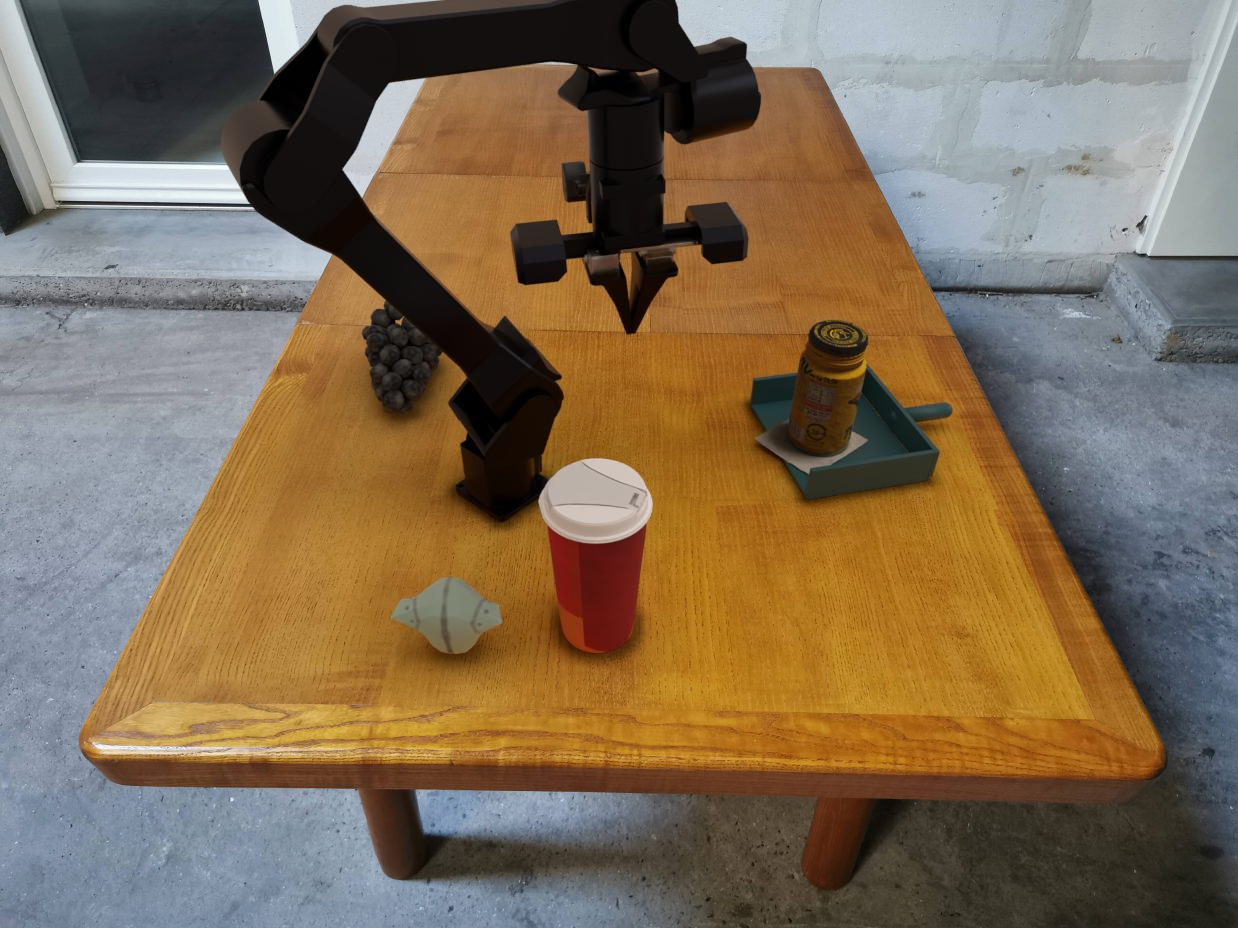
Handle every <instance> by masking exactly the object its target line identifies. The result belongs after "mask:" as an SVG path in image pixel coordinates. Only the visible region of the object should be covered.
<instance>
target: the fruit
mask: <svg viewBox="0 0 1238 928" xmlns="http://www.w3.org/2000/svg"><path fill="white" fill-rule="evenodd" d="M369 317H370V321H371V322H370V325H366V326H364V327H363V329H362V330H361V337H362V339H363V340H364V341H365V344H366V347H365V348H364V356H365V357H366V358H367V362H368V364H369V366H370V370H369V376H370V379H371V389H372V390H373V391H374V395H375V397H376V399H377V400H378V401H379V402H382V406H383V407H384V409H385V410H386V411H388V412H391V413H395V412H397V414H406V413H408V412H410V411H411V410H412V409H413V406H414V405H413V401H415V400H417V399H420V398H421V396H422V394H423V393H424V392H425V389H426V387H425V385H427V384H428V383H429V382H430V380H431V377H432V376H433V372H435V371H436V370H437V368H438V365H439V363H440V356H442V354H444V353H443V352H442V351H441V350H440V349H439V348H438V347H437V346H436V345H434V344H433V343H432V342H431V341H430V340H429V339H428V338H427V337H426V336H425V335H423V334H422V333H421V332H420V331H419V330H418V329H417V328H416V327H415V326H414V325H412V324H411V323H410V322H409V321H408V320H407V319H406V318H405V317H404V316H403V315H401V314H400V313H399V312H398V311H397V310H396V309H395V308H394V307H393V306H391V305H390V304H389V303H388V302H387V301H386V300H385V299H384V303H383V308H376V309H374V310H373V311H372V313H371V314H370V316H369ZM400 320H401V323H398V322H397V321H400Z"/></svg>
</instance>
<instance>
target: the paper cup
mask: <svg viewBox="0 0 1238 928" xmlns="http://www.w3.org/2000/svg"><path fill="white" fill-rule="evenodd" d="M653 503H654V502H653V497H652V495H651V492H650V490H649V489H648V487H647V485H646V482H645V480H644V479H643V477H642V476H641V475H640V473H639V472H637V470H635V469H634V468H633V467H631V466H629V465H627V464H626V463H623V462H621V461H617V460H614V459H608V458H600V457H599V458H597V457H596V458H595V457H594V458H585V459H580V460H577V461H575V462H572V463H569V464H567V465H566V466H563V467H562V468H561V469H559V470H557V472H555V474H554V475H553V476H551V477H550V478H549V481H548V482H547V484H546V486H545V488H544V489H543V491H542V493H541V495H540V497H539V498H538V505H539V509H540V514H541V517H542V518H543V521H544V523H546V528H547V536H548V541H549V548H550V557H551V564H552V570H553V572H552V573H553V580H554V585H555V593H556V599H557V600H556V601H557V606H558V613H559V619H560V624H561V625H560V626H561V629H562V633H563V635H564V638H565V639H566V641H568V643H569V644H571V645H572V646H573V647H574V648H576V649H578V650H580V651H582V652H586V653H592V654H604V653H609V652H612V651H615V650H617V649H619V648H621V647H623V645H624V644H625V643H626V642H627V641H629V639H630V637H631V635H632V633H633V629H634V625H635V619H636V613H637V607H638V606H637V605H638V598H639V588H640V580H641V571H642V565H643V557H644V551H645V545H646V535H647V525H648V522H649V520H650V518H651V515H652V512H653V505H654V504H653Z"/></svg>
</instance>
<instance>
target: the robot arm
mask: <svg viewBox="0 0 1238 928" xmlns="http://www.w3.org/2000/svg"><path fill="white" fill-rule="evenodd" d="M679 16H680V15H679V6H678V3H677V1H676V0H427V1H418V2H407V3H406V2H405V3H396V4H385V5H378V6H377V5H375V6H365V7H363V6H358V5H353V4H342V5H340V6H336V7H333V8H331V9H330V10H329V11H328V12H326V13H325V14H324V15H323V17H322V18H321V20H320V22H319V23H318V25H317V26H316V28H315V29H314V31H313V32H312V34H311V35H310V37H309V38H308V40H307V41H306V42H305V43H304V44H303V45H302V46H301V47H300V48H299V49H298V50H297V51H296V52H295V53H294V54H293V55H292V56H291V57H290V58H289V59H288V60H286V61H285V63H283V64H282V66H281V67H279V68H278V70H277V71H275V72H274V74H273V75H272V76H271V77H270V79H269V80H268V82H267V84H266V85H265V86H264V88H263V89H262V90H261V92H260V94H259V95H258V96H257V98H256V100H255V101H252V102H248V103H245V104H244V105H242V106H240V107H239V108H237V109H236V110H235V111H233V112H232V113H231V114H230V116H228V117H229V118H227V120H226V122H224V125H223V128H222V133H221V136H220V144H221V155H222V157H223V159H224V162H225V164H226V165H227V168H228V169H229V171H230V173H231V174H232V176H233V178H234V179H235V181H236V183H237V185H238V187H239V189H240V190H241V192H242V194H243V195H244V198H245V199H246V201H247V202H248V204H249V205H250V206H251V207H252V209H253V210H254V211H255V212H256V213H258V214H259V215H260V216H261V217H263V218H265V219H266V220H268V221H269V222H271V223H273V224H274V225H276V226H277V227H279V228H281V229H282V230H284V231H285V232H287V233H289V234H290V235H292V236H293V237H295V238H297V239H299V240H300V241H302V242H303V243H305V244H307V245H309V246H312V247H314V248H316V249H318V250H321V251H323V252H326V253H328V254H330V255H332V256H334V257H336V258H338V259H339V260H341V261H342V263H344V264H345V265H346V266H347V267H349V269H351V271H353V272H354V273H355V274H356V275H357V276H358V277H359V278H361V280H362V281H364V282H365V284H367V285H368V286H369V287H370V288H371V289H372V290H373V291H375V292H376V293H377V294H378V295H379V296H381V298H382V299H384V301H385V300H386V301H387V302H388V303H389V304H390V305H391V306H393V307H394V308H395V309H396V310H397V311H398V312H399V313H400V314H401V315H403V317H405V318H406V319H407V320H408V321H409V322H410V323H411V324H412V325H414V326H415V327H416V328H417V329H418V330H419V331H420V332H421V333H422V334H423V335H425V336H426V337H427V338H428V339H429V340H430V341H431V342H432V343H433V344H434V345H436V346H437V347H438V348H439V349H440V350H441V351H442V352H443V353H442V354H444V355H445V356H446V357H447V358H449V359H450V360H451V361H452V362H453V363H454V364H455V365H456V366H457V367H459V369H460V370H461V371H462V373H463V374H464V375H465V377H466V378H465V380H464V381H463V382H462V383H461V385H460V386H459V387H458V388H457V390H456V391H455V392H454V393H453V395H452V396H451V397H450V399H449V400H448V403H447V404H448V406H449V408H450V409H451V412H452V413H453V414H454V416H455V417H456V419H457V420H458V421H459V422H460V423H461V425H462V426H463V428H464V429H465V431H466V435H465V440H463V441H461V442H459V443H460V444H459V447H460V455H461V462H462V468H463V469H462V470H463V477H464V479H463V480H461V481H459V482H457V483H456V484H455V486H454V487H455V492H456V493H458V494H459V495H460V496H462V497H463V498H465V499H466V500H468V501H469V502H470V503H472V504H474V505H475V506H477V507H478V508H479V509H481V510H482V511H484V512H485V513H487V514H488V515H490V516H491V517H493V518H494V519H496V520H497V521H499V522H504V521H507V520H509V519H510V518H511V517H513V516H514V515H516V514H517V513H519V512H520V511H522V510H524V508H526V507H527V506H529V505H530V504H531V503H533V502H534V501H536V500H538V499H539V498H540V495H541V493H542V491H543V489H544V488H545V486H546V484H547V482H548V481H549V480H550V478H547V477H546V476H544V475H542V474H541V473H542V472H543V459H542V455H544V453H545V452H546V451H545V450H546V447H547V444H548V441H549V438H550V434H551V433H552V429H553V426H554V422H555V420H556V418H557V416H558V415H559V413H560V411H561V409H562V404H563V401H564V400H565V394H564V390H563V389H562V388H561V386H560V385H559V383H558V382H557V381H560V380H562V379H563V375H562V374H561V373H560V372H559V371H558V369H556V368H555V366H553V364H552V363H551V362H550V361H549V360H548V359H547V357H545V355H544V354H543V353H542V352H541V351H540V350H539V349H538V348H537V346H536V345H535V344H534V343H533V342H532V341H531V340H530V339H529V338H527V337H525V336H524V335H523V333H521V331H520V330H519V329H518V328H517V327H516V325H514V324H513V322H512V321H511V320H510V318H508V317H507V316H506V315H504V316H502V318H501V319H500V321H498V323H497V324H496V325H495V326H492V325H490V324H488V323H486V322H484V321H482V320H481V319H479V318H478V317H477V316H476V315H475V314H474V313H473V312H472V310H470V309H469V308H468V307H467V306H466V305H465V304H464V303H463V302H462V300H460V299H459V298H458V297H457V296H456V295H455V294H454V293H453V292H452V290H450V289H449V288H448V287H447V286H446V285H445V284H444V283H443V282H442V281H441V280H440V279H439V278H438V277H437V276H436V275H435V274H434V273H433V271H431V270H430V269H429V268H428V267H427V266H426V265H425V264H424V263H423V262H422V261H421V260H420V259H419V258H418V257H417V256H416V255H415V254H414V253H413V252H412V251H411V250H410V249H409V248H408V247H407V246H406V245H405V244H404V243H403V242H402V241H401V240H400V239H399V238H398V237H397V236H396V235H395V234H394V233H393V232H392V231H391V230H390V229H389V228H388V227H387V226H386V225H385V224H384V223H383V222H382V220H380V219H379V218H378V217H377V216H376V215H375V214H374V213H373V212H372V211H371V210H370V207H369V206H368V205H367V203H366V202H365V200H364V199H363V197H362V196H361V194H360V192H359V191H358V190H357V188H356V186H355V185H354V184H353V182H352V181H351V180H350V178H349V177H348V175H347V174H346V172H345V170H344V168H345V166H347V164H348V162H349V161H350V160H351V158H352V157H353V155H354V154H355V152H356V151H357V149H358V147H359V144H360V142H361V140H362V137H363V135H364V132H365V131H366V128H367V126H368V123H369V120H370V118H371V115H372V113H373V110H374V108H375V105H376V103H377V101H378V99H379V98H380V96H381V95H382V94H383V92H384V91H385V90H386V88H387V87H388V85H389V84H391V83H398V82H406V81H414V80H422V79H430V78H437V77H446V76H453V75H459V74H460V75H461V74H469V73H477V72H484V71H492V70H498V69H507V68H514V67H515V68H516V67H522V66H529V65H536V64H537V65H538V64H546V63H557V64H558V63H560V64H567V65H568V64H569V65H574V66H576V68H575V70H574V72H573V73H572V74H571V76H569V78H568V79H566V80H565V81H564V82H563V84H562V85H561V86H560V87H559V88H558V90H557V96H558V97H559V99H560V100H563V101H564V102H566V103H567V104H569V105H570V106H572V107H574V108H575V109H576V110H578V111H580V112H585V111H586V121H587V122H586V123H587V140H588V142H587V144H588V164H589V171H587V168H586V163H585V162H584V161H582V160H581V161H579V160H577V161H570V162H569V161H567V162H561V163H560V164H561V167H560V168H561V183H562V193H563V199H564V201H565V202H566V203H579V202H580V203H581V202H585V214H586V215H585V216H586V220H587V223H588V224H591V226H592V231H586V232H578V233H568V234H567V233H565V234H562V231H561V228H560V225H559V221H558V219H547V220H537V221H536V220H535V221H528V222H517V223H515V224H514V226H513V227H512V229H511V230H510V232H509V236H510V244H511V254H512V259H513V264H514V270H515V274H516V281H517V283H518V284H521V285H524V286H532V285H533V286H534V285H541V284H550V283H551V284H552V283H559V282H560V281H561V279H563V277H564V276H565V275H566V274H567V273H568V262H567V260H574V259H581V261H582V264H583V267H584V270H585V274H586V276H587V279H588V282H589V284H590V285H591V286H594V287H600V286H601V287H603V288H604V290H605V291H606V293H607V295H608V297H609V298H610V300H611V301H612V303H613V304H614V306H615V309H616V311H617V314H618V316H619V319H620V322H621V324H622V327H623V329H624V332H625V335H626V336H627V335H629V336H630V335H636V334H637V332H638V330H639V328H640V325H641V324H642V321H643V319H644V318H645V316H646V313H647V312H648V310H649V307H650V306H651V304H652V302H653V301H654V299H655V298H656V296H657V294H658V293H659V291H660V290H661V289H662V287H663V286H664V284H665V283H666V281H667V280H668V279H672V278H676V277H677V276H678V275H679V266H678V265H677V263H676V261H675V254H676V253H677V248H684V247H694V246H701V247H700V254H701V257H702V258H703V259H705V260H706V261H707V262H708V263H709V264H711V265H718V264H719V265H720V264H729V263H736V262H737V263H739V262H743V261H744V260H746V259H747V258H748V253H749V240H750V239H749V232H748V228H747V226H746V225H745V224H744V222H743V221H742V219H741V218H740V216H739V215H738V212H736V210H735V209H734V207H733V206H732V205H730V203H728V202H727V201H719V202H710V203H700V204H692V205H687V206H686V208H685V210H684V221H679V222H671V223H666V222H665V221H664V220H665V219H664V217H665V216H664V213H665V212H664V211H665V209H664V208H665V200H664V198H665V194H666V189H667V187H666V186H667V185H666V181H667V180H666V179H665V133H666V134H669V135H670V136H671V138H672V139H673V140H674V141H675V142H676V143H678V144H680V145H689V144H694V143H699V142H702V141H707V140H710V139H714V138H718V137H723V136H727V135H732V134H735V133H739V132H743V131H747V130H749V129H751V128H752V127H753V126H754V125H755V123H756V122H757V120H758V117H759V115H760V112H761V105H762V93H761V92H760V91H759V84H758V81H757V76H756V73H755V70H754V68H753V66H752V65H751V63H750V62H749V60H748V59H747V53H748V44H747V43H746V42H745V41H743V40H741V39H738V38H736V37H733V36H726V37H720V38H718V39H715V40H714V41H712V42H710V43H706V44H701V45H694V44H693V43H692V41H691V39H690V38H689V36H688V34H687V33H686V32H685V30H684V28H683V27H682V25H681V23H680V17H679ZM594 69H596V70H602V72H597V71H596V70H594ZM651 70H657V71H655V72H652V73H651V72H650V73H646V72H648V71H651ZM638 73H645V74H641V75H640V74H638ZM629 253H630V259H631V273H630V285H629V286H630V287H629V289H628V281H627V279H628V278H627V275H626V273H625V270H624V267H623V265H622V263H621V254H629Z"/></svg>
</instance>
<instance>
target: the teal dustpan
mask: <svg viewBox="0 0 1238 928" xmlns="http://www.w3.org/2000/svg"><path fill="white" fill-rule="evenodd" d="M797 373H798V371H797V372H790V373H789V372H788V373H783V374H774V375H767V376H759V377H753V378H752V386H751V391H750V392H751V394H750V401H749V407H750V409H751V410H752V412H753V414H754V415H755V416H756V418H757V420H758V421H759V423H760V425H761V427H762V428H763V430H764V432H767V431H769V430H770V429H771V428H774V427H775V426H776V425H778V424H781V423H782V422H784V421H787V420H788V419H790V413H791V407H792V401H793V395H794V390H795V384H796V378H797ZM953 411H954V409H953V405H951V404H950V403H948V402H944V401H943V402H935V403H930V404H929V403H928V404H922V405H921V404H920V405H914V406H907V407H904V406H903V405H902V404H901V403H900V402H899V400H898V399H897V398H896V396H895V395H894V394H893V393H892V392H891V391H890V389H889V388H888V387H887V386H886V384H885V383H884V382H883V381H882V380H881V379H880V377H879V376H878V375H877V374H876V373H875V371H874V370H873V369H872V368H871V366H870V365H869V364H868V363H867V362H866V372H865V378H864V381H863V386H862V390H861V394H860V398H859V404H858V407H857V412H856V416H855V420H854V424H853V429H852V432H855V433H856V434H858V435H860V436H862V437H864V438H865V439H868V441H867V442H866V443H864V444H863V445H861V446H859V447H858V448H857V449H855V450H854V451H852V452H851V453H849V454H848V455H846V456H845V457H843V458H841V459H839V460H838V461H836V462H834V463H833V464H831V465H827V466H821V467H814V468H810V472H809V474H808V473H806V472H804V471H802V470H800V469H799V468H798V467H796V466H795V465H793V464H791V463H789V462H787V461H786V460H785V459H783V458H782V457H780V458H781V460H782V462H783V463H784V465H785V466H786V468H787V470H788V472H789V473H790V475H791V476H792V478H793V480H794V481H795V483H796V485H797V486H798V488H799V489H800V491H801V493H802V494H803V496H804V498H805V499H806V500H807V501H808V500H815V499H821V498H827V497H832V496H839V495H840V496H841V495H846V494H851V493H858V492H864V491H871V490H877V489H885V488H890V487H896V486H902V485H909V484H914V483H915V484H916V483H921V482H927V480H928V478H932V477H934V476H933V475H934V473H935V469H936V467H937V463H938V460H939V457H940V453H941V451H940V450H939V449H938V447H937V446H936V445H935V444H934V443H933V441H932V440H931V438H930V437H928V435H927V434H926V433H925V432H924V431H923V429H922V428H921V427H920V426H919V424H918V423H922V422H930V421H936V420H944V419H948V418H950V417H951V416H952V414H953Z"/></svg>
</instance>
